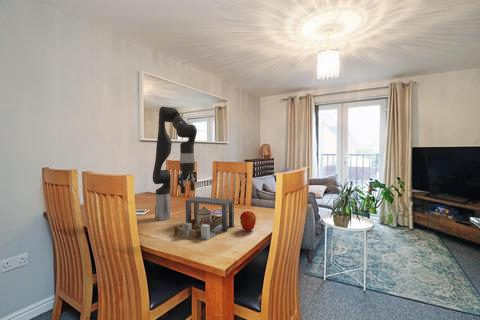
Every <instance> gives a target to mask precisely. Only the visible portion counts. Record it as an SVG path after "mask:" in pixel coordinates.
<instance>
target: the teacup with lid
mask: <svg viewBox="0 0 480 320" xmlns="http://www.w3.org/2000/svg"><path fill="white" fill-rule="evenodd" d="M211 215H214V218H213V219H212V220H211ZM216 216H217V215H216V213H214V212H212V210H210V209H208V208H206V207H205V206H203V207H202V208H201V209H200V208H199V210H198V211H197V225H196V227H197V228H199V229H201V225H203V224H207V225H209V224H211V223H212V222H211V221H213V220H214V219H215V217H216Z"/></svg>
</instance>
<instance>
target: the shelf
mask: <svg viewBox="0 0 480 320" xmlns="http://www.w3.org/2000/svg"><path fill="white" fill-rule="evenodd" d="M192 203H193V219H194V218H196V217H197V211H198V210H200V204H203V205H214V206H220V207H221V216H222V230H221V232H224V233H227V232H228V230H229V228H234V227H235V218H234V217H235V204H234V203H235V201H234V199H228V198H216V197H215V198H214V197H207V196H206V197H205V196H193V197H190V198H187V199H185V223H186V222H188V221H190V220H192Z"/></svg>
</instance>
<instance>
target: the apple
mask: <svg viewBox="0 0 480 320" xmlns="http://www.w3.org/2000/svg"><path fill="white" fill-rule="evenodd" d="M239 220H240V225H241V228H242V230H244V232H251V231H252V230H253V229H255V225H256V223H257V216H256V213H254V212H253V211H250V210H246V211H243V212H242V213H241V214H240V217H239Z"/></svg>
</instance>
